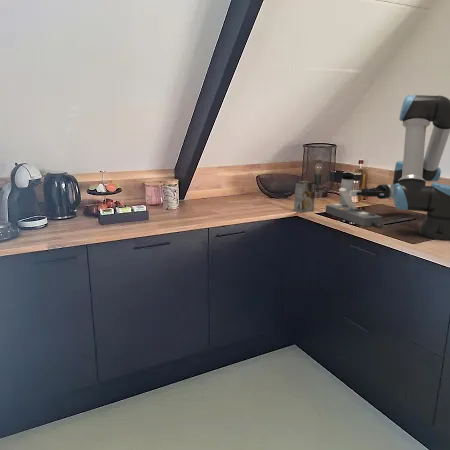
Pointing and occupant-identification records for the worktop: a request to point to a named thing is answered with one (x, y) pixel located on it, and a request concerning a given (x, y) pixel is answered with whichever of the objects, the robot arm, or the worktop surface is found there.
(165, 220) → the worktop surface
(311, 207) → the coffee box
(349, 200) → the middle rocker lever
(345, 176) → the travel mug
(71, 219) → the worktop surface
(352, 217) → the power strip
